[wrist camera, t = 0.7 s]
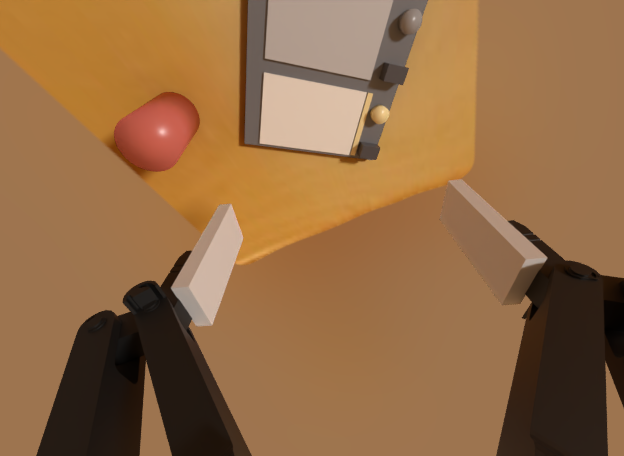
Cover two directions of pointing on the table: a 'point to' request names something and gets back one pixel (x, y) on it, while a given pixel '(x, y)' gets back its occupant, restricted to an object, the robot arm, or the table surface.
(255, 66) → the board
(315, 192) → the table surface
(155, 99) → the pink domed cylinder
